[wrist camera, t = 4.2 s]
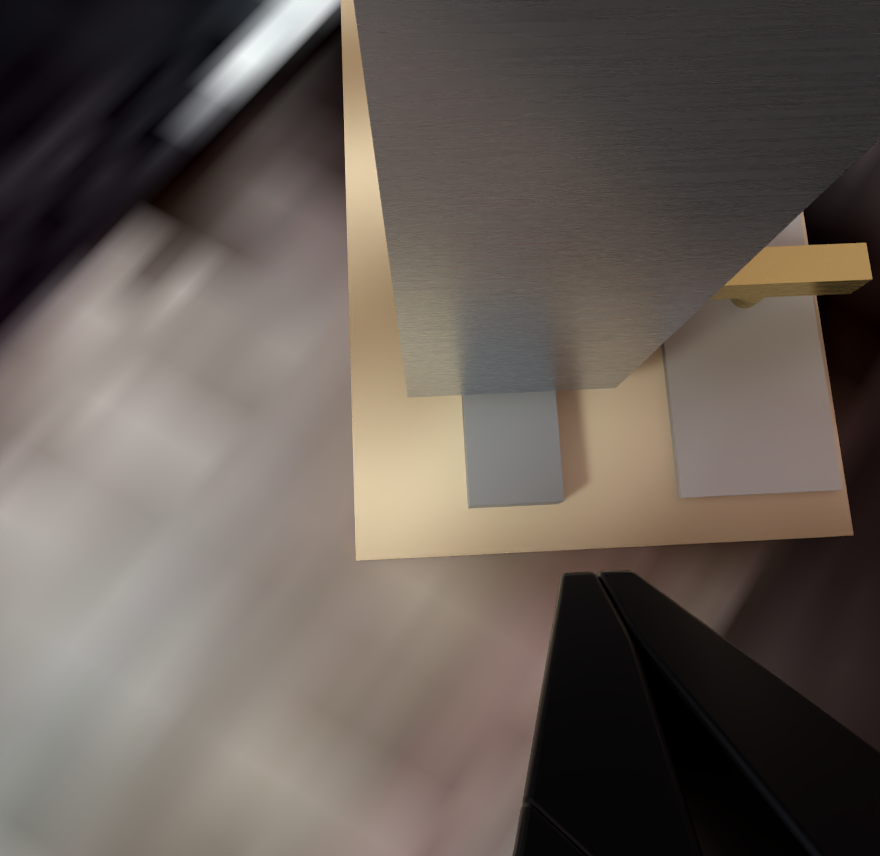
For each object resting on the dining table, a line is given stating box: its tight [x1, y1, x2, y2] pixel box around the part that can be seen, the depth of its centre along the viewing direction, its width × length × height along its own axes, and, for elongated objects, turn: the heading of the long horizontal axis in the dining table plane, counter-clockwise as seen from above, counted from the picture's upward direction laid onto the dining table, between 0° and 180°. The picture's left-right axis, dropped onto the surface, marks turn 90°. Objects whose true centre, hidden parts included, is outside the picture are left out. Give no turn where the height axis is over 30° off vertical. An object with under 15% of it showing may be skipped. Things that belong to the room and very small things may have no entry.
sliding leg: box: [353, 0, 880, 398], centre depth 10 cm, size 4×10×12 cm, turn 93°
